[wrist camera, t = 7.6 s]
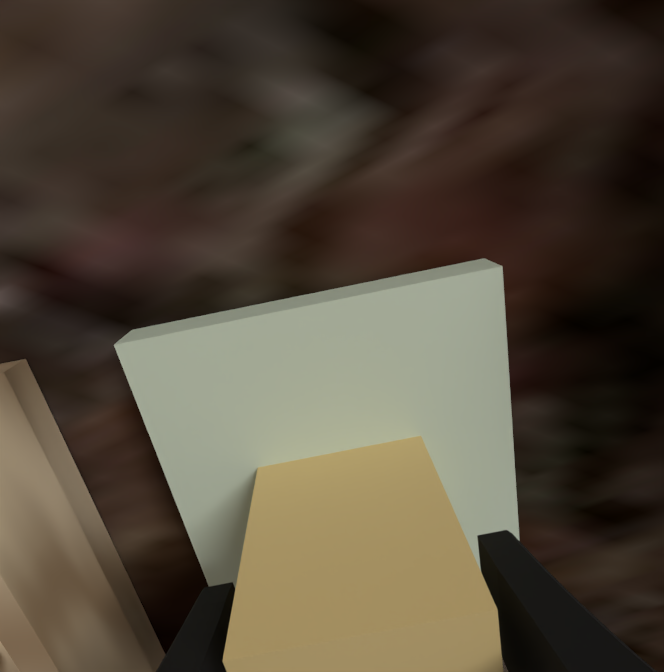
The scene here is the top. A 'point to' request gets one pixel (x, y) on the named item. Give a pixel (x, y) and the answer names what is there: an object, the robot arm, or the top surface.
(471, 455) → the lid
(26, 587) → the box
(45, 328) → the top surface
